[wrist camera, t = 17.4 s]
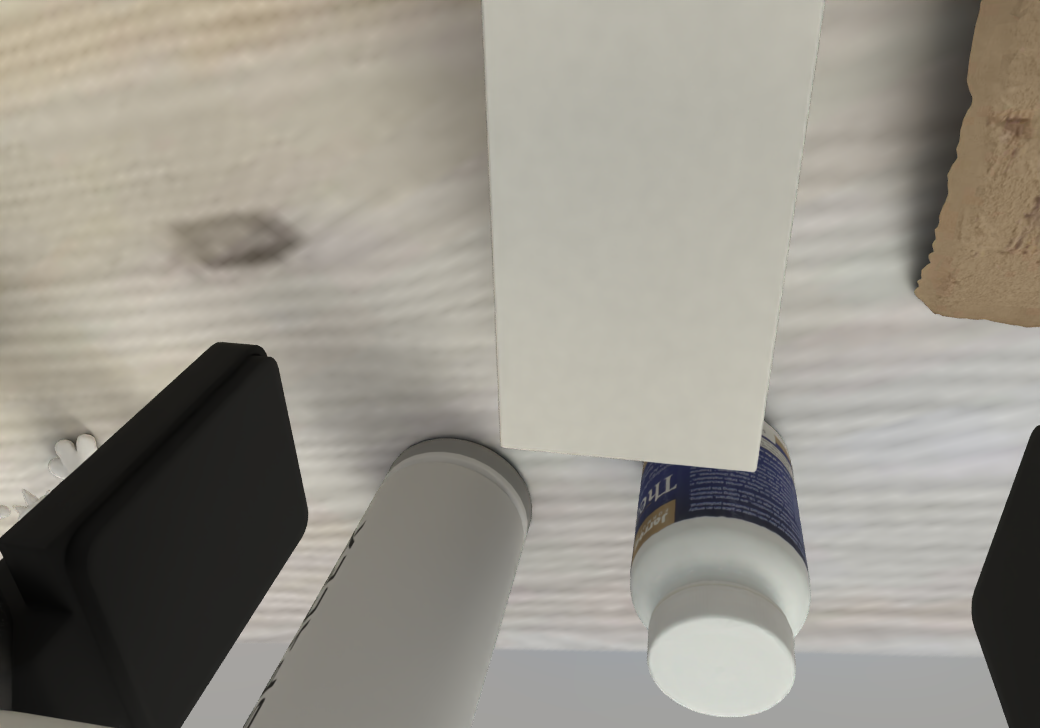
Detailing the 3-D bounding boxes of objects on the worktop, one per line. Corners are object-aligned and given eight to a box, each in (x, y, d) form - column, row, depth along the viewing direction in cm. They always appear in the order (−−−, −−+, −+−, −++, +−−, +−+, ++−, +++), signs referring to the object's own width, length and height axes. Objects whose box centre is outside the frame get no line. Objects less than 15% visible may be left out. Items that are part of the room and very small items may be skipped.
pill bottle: (653, 390, 29) (633, 580, 21) (804, 413, 29) (846, 618, 20) (635, 505, 32) (611, 713, 24) (773, 528, 31) (798, 752, 23)
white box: (504, -30, 19) (478, -22, 17) (815, -35, 18) (830, -28, 16) (517, 402, 25) (499, 448, 23) (751, 422, 23) (756, 473, 21)
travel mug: (557, 549, 34) (406, 1193, 17) (415, 559, 36) (150, 1145, 19) (519, 425, 31) (295, 1042, 14) (368, 443, 33) (11, 1004, 16)
